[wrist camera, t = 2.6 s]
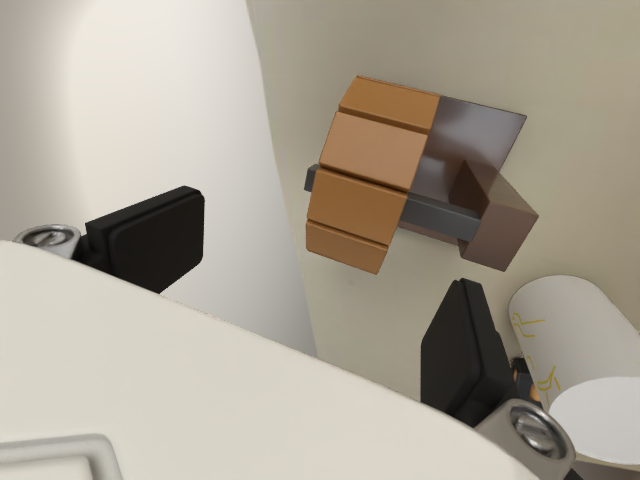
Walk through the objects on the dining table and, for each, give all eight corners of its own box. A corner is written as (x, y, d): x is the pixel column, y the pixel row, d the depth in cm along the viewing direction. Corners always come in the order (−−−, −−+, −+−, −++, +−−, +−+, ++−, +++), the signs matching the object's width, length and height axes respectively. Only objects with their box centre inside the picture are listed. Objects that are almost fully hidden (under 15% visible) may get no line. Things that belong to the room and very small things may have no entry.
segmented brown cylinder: (375, 79, 24) (336, 69, 14) (436, 94, 23) (445, 95, 13) (339, 216, 30) (292, 282, 19) (387, 232, 29) (365, 310, 18)
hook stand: (368, 78, 27) (326, 67, 16) (523, 115, 25) (605, 133, 13) (336, 202, 33) (290, 260, 21) (460, 241, 30) (480, 329, 19)
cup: (497, 287, 31) (534, 384, 21) (597, 264, 27) (700, 368, 17) (521, 348, 33) (564, 463, 23) (616, 334, 30) (718, 465, 19)
